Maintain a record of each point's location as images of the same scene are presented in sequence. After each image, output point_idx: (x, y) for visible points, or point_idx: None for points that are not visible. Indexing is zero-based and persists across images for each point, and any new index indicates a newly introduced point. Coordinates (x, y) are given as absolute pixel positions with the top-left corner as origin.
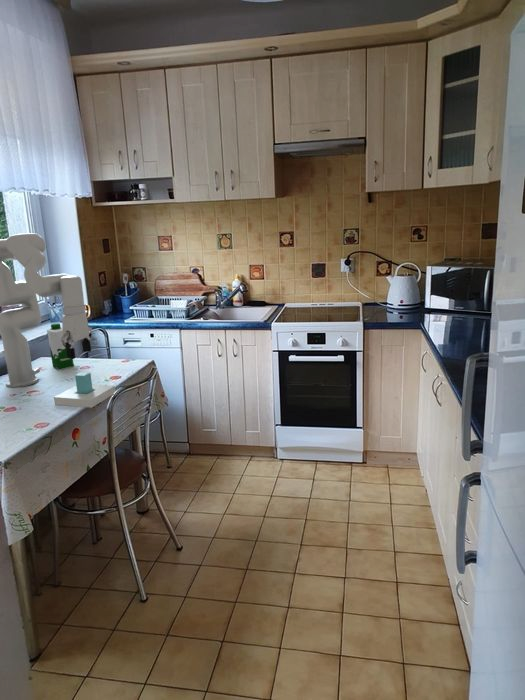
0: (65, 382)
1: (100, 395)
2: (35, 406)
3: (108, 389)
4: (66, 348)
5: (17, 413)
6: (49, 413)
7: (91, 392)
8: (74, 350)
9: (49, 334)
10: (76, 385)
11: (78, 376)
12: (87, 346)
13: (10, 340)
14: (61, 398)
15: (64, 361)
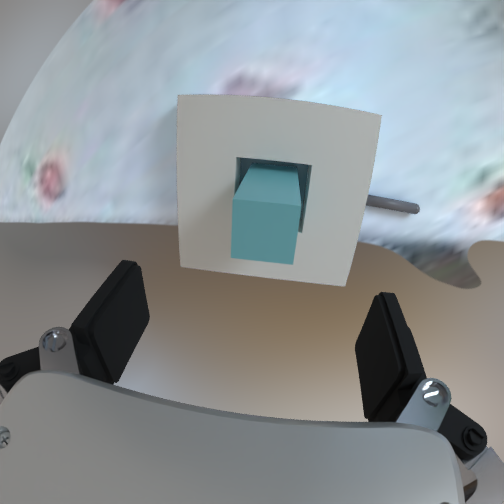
0: (456, 12)
1: (242, 272)
2: (162, 34)
3: (300, 281)
4: (77, 324)
5: (97, 31)
6: (113, 137)
7: None
8: (119, 370)
9: None
10: (242, 180)
11: (232, 218)
12: (367, 369)
13: None
14: (177, 134)
15: None
